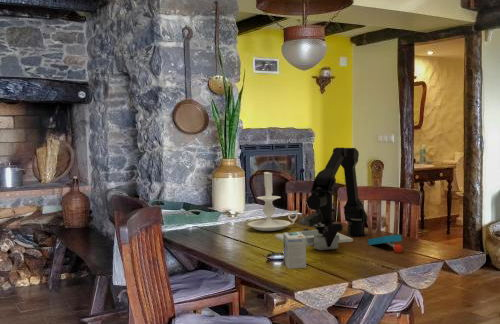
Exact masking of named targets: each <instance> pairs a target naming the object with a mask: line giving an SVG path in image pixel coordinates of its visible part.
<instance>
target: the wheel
mask: <svg viewBox="0 0 500 324" xmlns="http://www.w3.org/2000/svg"><path fill="white" fill-rule="evenodd" d="M304 218H305V217H303V218H300V219H299V220H298V221H299V223H298V224H299V225H300V226H306V223H305V220H304Z"/></svg>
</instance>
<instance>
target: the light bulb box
mask: <svg viewBox="0 0 500 324" xmlns="http://www.w3.org/2000/svg"><path fill="white" fill-rule="evenodd" d="M282 234H283V241H282V243H283V262H284V264H285V266H286V268H287V269H289V270H291V269H306V268H307V250H306V249H307V248H306V247H307V246H306V237H305V236H304V235H303V234H302V233H301V232H300V231H294V232H293V231H292V232H290V231H289V232H283V233H282Z"/></svg>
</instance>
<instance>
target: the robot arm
mask: <svg viewBox="0 0 500 324" xmlns="http://www.w3.org/2000/svg"><path fill="white" fill-rule="evenodd" d="M359 156H360V152H359V150H358V149H357V148H356V147H334V148H333V150H332V154H331V156H330V158H329V160H328V161H327V162H326V165H325V167H324V169H321V170H320V171H319V172H318V173H317V175H316V176H315V178H314V179H313V184H312V187H311V189H310V193H311V195H309V196H308V197H307V200H306V205H307V208H309V209H310V210H312V211H315V213H311V214H309V215H307V216H305V217H303V218H304V220H305V223H306V225H305V227H309V228H314V230H317V231H318V233H325V234H326V241H327V247H330V246H331V244H332V242H333V240H334V238H335V236H336V234H337V232H338V233H339V232H342V231H343V229H344V227H343V226H344V225H343V224H342V223H341V222H337V221H336V220H335V219H334V217H333V215H334V213H335V212H336V211H335V208H333V195H334V193H335V192H334V188H335V186H336V182H337V180H336V174H337V173H338V170H339V168H341V167H342V168H343V170H344V171H343V172H344V180H345V189H346V197H347V198H346V199H347V200H346V203H345V205H343V214H344V220H345V222H348V223H347V233H346V235H348V236H349V237H352V238H353V237H364V236H365V237H366V236H367V234H366V233H365V223H367V222H368V214H367V212H366V210H365V209H364V208H365V207H364V204H363V202H362V200H361V199H360V198H359V190H358V182H357V173H356V172H357V171H356V165H357V164H358V162H359ZM340 166H341V167H340Z"/></svg>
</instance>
